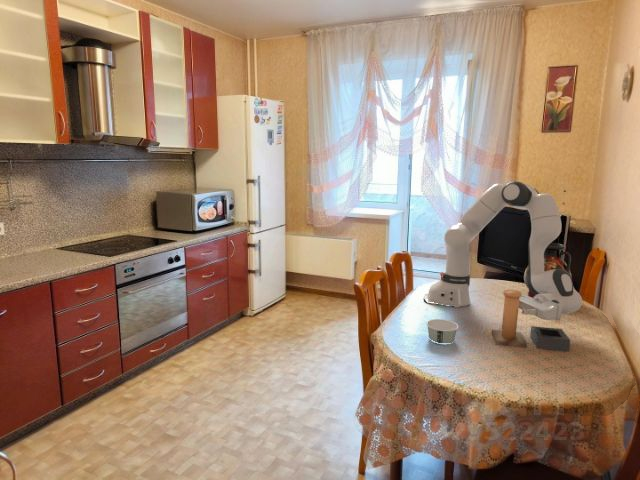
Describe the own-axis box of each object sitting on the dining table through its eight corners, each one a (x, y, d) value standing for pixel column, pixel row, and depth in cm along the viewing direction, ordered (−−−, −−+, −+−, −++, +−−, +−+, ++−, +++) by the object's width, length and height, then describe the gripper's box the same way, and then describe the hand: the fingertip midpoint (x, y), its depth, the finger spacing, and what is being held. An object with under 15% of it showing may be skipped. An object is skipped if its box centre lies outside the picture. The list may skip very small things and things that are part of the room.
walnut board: (495, 344, 166) (495, 340, 166) (491, 333, 177) (491, 329, 176) (526, 347, 164) (526, 343, 163) (520, 335, 174) (520, 332, 174)
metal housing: (536, 348, 163) (537, 337, 162) (530, 336, 173) (531, 326, 173) (568, 351, 160) (570, 340, 159) (560, 339, 171) (561, 328, 170)
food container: (458, 348, 163) (460, 331, 161) (426, 345, 165) (426, 329, 164) (455, 335, 174) (456, 320, 173) (425, 333, 177) (426, 317, 175)
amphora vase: (515, 297, 222) (520, 244, 217) (531, 289, 237) (536, 238, 232) (561, 308, 207) (567, 250, 202) (575, 298, 222) (581, 244, 217)
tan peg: (500, 338, 168) (505, 293, 164) (498, 332, 174) (502, 289, 171) (518, 340, 166) (523, 295, 163) (515, 333, 172) (519, 290, 169)
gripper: (525, 289, 181) (497, 292, 177) (565, 305, 162) (534, 308, 158) (524, 304, 182) (496, 306, 179) (563, 321, 163) (533, 325, 159)
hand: (514, 307), depth 168 cm, fingers open, 8 cm apart
